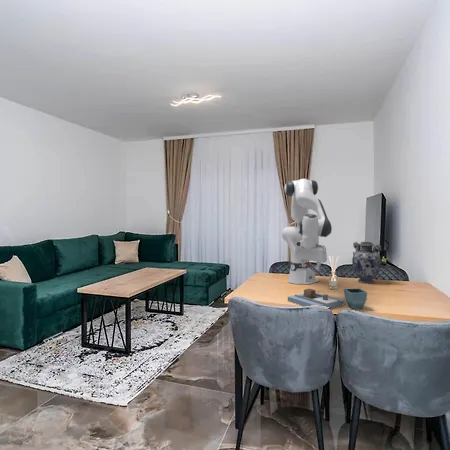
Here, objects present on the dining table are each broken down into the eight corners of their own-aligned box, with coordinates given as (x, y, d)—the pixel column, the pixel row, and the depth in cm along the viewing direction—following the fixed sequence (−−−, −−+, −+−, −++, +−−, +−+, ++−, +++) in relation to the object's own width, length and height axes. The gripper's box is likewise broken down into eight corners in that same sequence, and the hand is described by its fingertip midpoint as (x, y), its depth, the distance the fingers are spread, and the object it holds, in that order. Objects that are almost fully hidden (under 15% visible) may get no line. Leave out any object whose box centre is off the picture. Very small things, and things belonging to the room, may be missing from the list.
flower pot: (343, 305, 175) (343, 288, 174) (358, 304, 175) (359, 288, 175) (350, 310, 166) (351, 292, 166) (367, 309, 167) (367, 292, 166)
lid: (324, 297, 179) (324, 291, 179) (337, 301, 172) (337, 295, 172) (312, 300, 174) (312, 294, 174) (326, 304, 167) (326, 298, 167)
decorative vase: (388, 282, 226) (388, 242, 225) (373, 286, 216) (373, 244, 214) (360, 277, 244) (360, 240, 243) (345, 281, 234) (345, 242, 232)
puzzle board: (312, 295, 193) (312, 290, 193) (343, 304, 175) (344, 298, 175) (287, 301, 182) (287, 295, 182) (318, 311, 164) (318, 304, 164)
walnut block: (309, 299, 185) (309, 288, 185) (315, 300, 182) (315, 290, 181) (303, 300, 183) (303, 289, 182) (309, 302, 179) (310, 291, 179)
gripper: (329, 244, 174) (329, 270, 174) (300, 241, 191) (300, 265, 191) (321, 245, 170) (321, 272, 171) (293, 242, 187) (293, 266, 188)
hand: (310, 268), depth 181 cm, fingers open, 8 cm apart
